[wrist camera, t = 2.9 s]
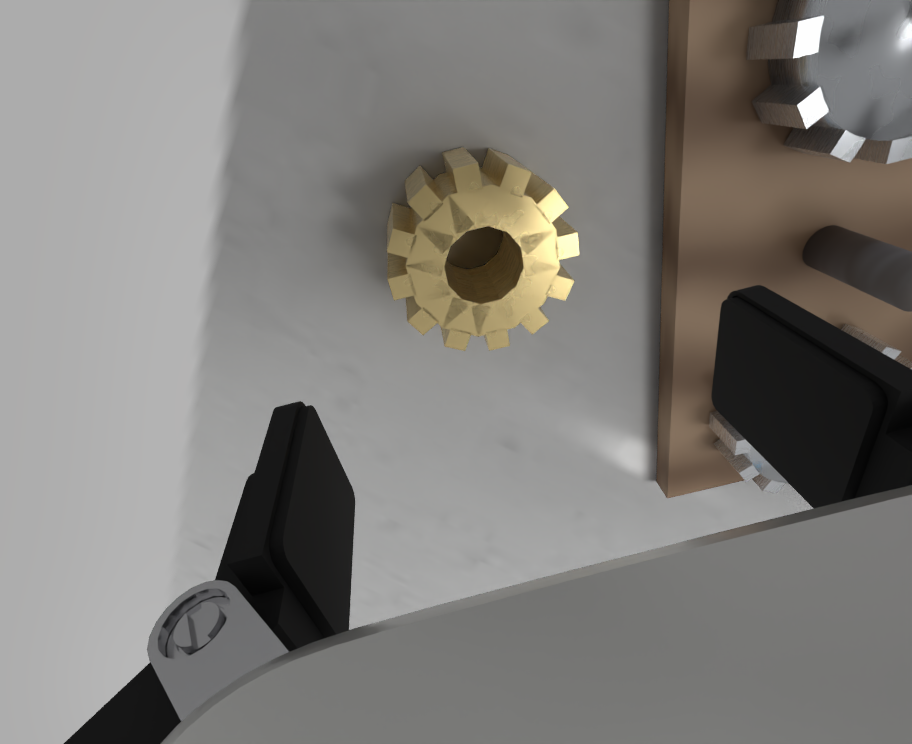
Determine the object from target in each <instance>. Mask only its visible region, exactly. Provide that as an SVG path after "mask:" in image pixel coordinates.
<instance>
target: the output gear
mask: <svg viewBox="0 0 912 744" xmlns="http://www.w3.org/2000/svg"><path fill="white" fill-rule="evenodd" d="M841 330H842V331H844V332H846V333H848V334H850V335H851V336H853V337H855V338H857V339H858V340H860V341H862V342H864V343H866V344H867V345H869V346H871V347H873V348H874V349H876V350H878V351H880V352H881V353H883V354H885V355H887V356H889V357H890V358H892V359H894V360H896V361H897V362H899V363H901V364H903V365H905V366H906V367H908V368H910V369H912V362H911V361H909V360H907V359H906V358H904V357H902V356H900V355H899V354H900V353H901V351H900V350H898V349H896V348H894V347H892V346H891V345H889V344H887V343H885V342H883V341H882V340H880V339H878V338H876V337H874V336H872V335H871V334H869V333H867V332H865V331H863V330H862V329H860V328H857V327H854V326H851V325H848V324H844V325H843V326H842V327H841ZM709 427H710V428H711V429H712V430H713V431H714V432H715V434H716V435H717V436H718V437H719V438H720V439H719V440H718V441H716V442H715V443H714V445H715V446H716V447H717V448H718V450H719V451H720V452H721V453H722V454H723V456H724V457H725V458H726V459H727V460H728V461H729V463H730V464H731V465H732V466H733V467H734V468H735V470H736V471H737V472H738V473H739V474H740V475H741V476H742V478H743V479H744V480H745V481H746V482H747V481H749V480H750V479H753V480H754V482H755V483H756V484H757V485H758V486H759V487H760V488H761V490H762V491H767V492H772V493H777V492H778V491H779V490H780V488H781V487H782V486H783V485H784V484H785V483H788V482H787V481H786V480H785V479H784V478H783V477H782V476H781V475H780V474H779V473H778V472H777V471H776V470H775V469H774V468H773V467H772V466H771V465H770V464H769V463H768V462H767V461H766V460H765V459H764V458H763V457H762V456H761V455H760V454H759V453H758V452H757V451H756V450H755V449H754V448H753V447H752V446H751V445H750V444H749V443H748V442H747V441H746V440H745V439H744V438H743V437H742V436H741V435H740V434H739V433H738V431H737V430H736V429H735V428H734V427H733V426H732V425H731V424H730V423H729V422H728V421H727V420H726V419H725V418H724V417H723V416H722V415H721V414H720V413H719V412H718V411H714V412H710V418H709Z"/></svg>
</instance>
